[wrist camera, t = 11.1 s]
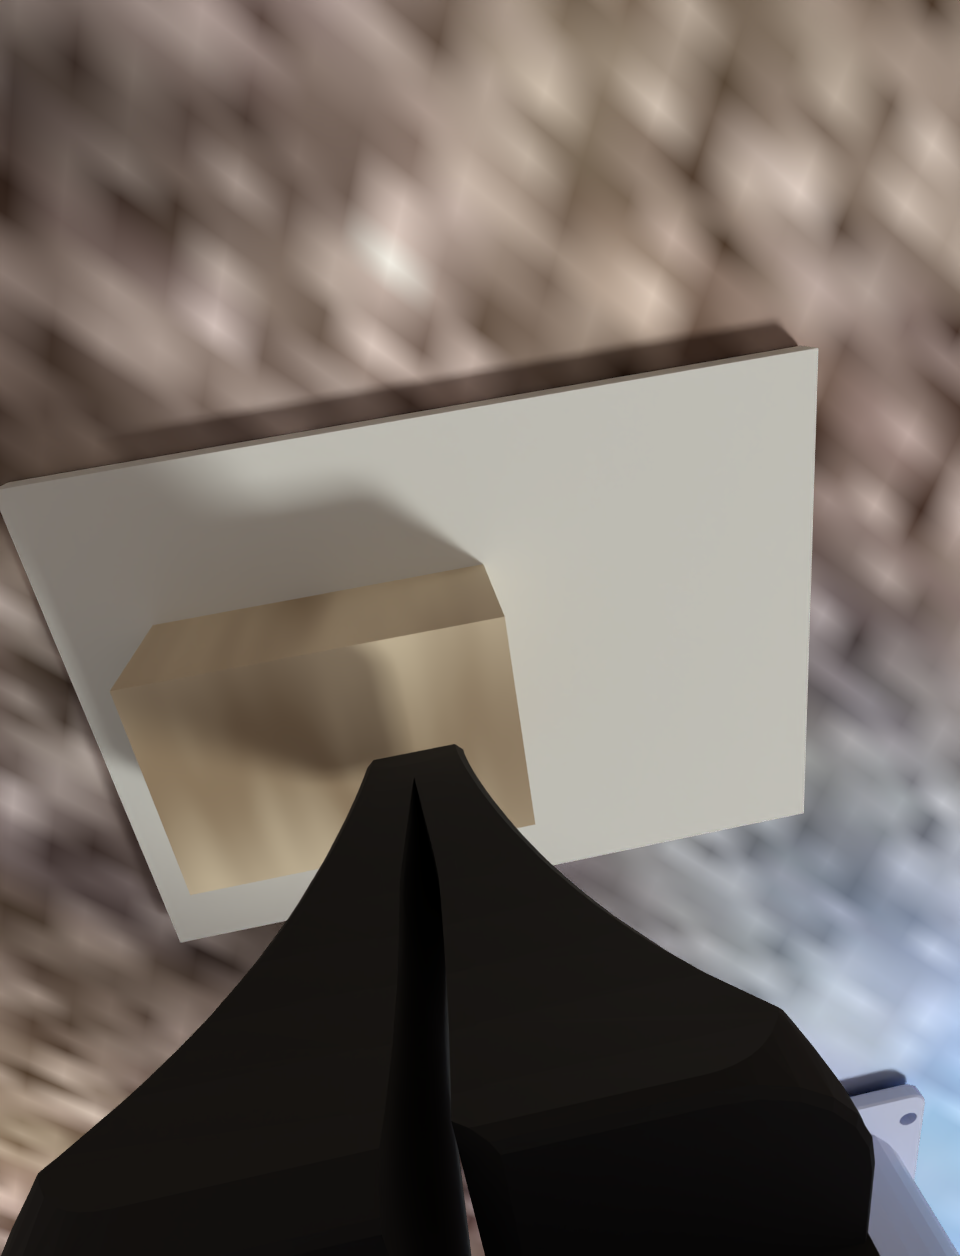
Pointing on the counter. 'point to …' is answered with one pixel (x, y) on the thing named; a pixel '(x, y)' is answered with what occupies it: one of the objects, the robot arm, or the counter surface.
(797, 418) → the mat
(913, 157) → the counter surface
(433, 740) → the green-faced wooden block
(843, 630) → the counter surface
